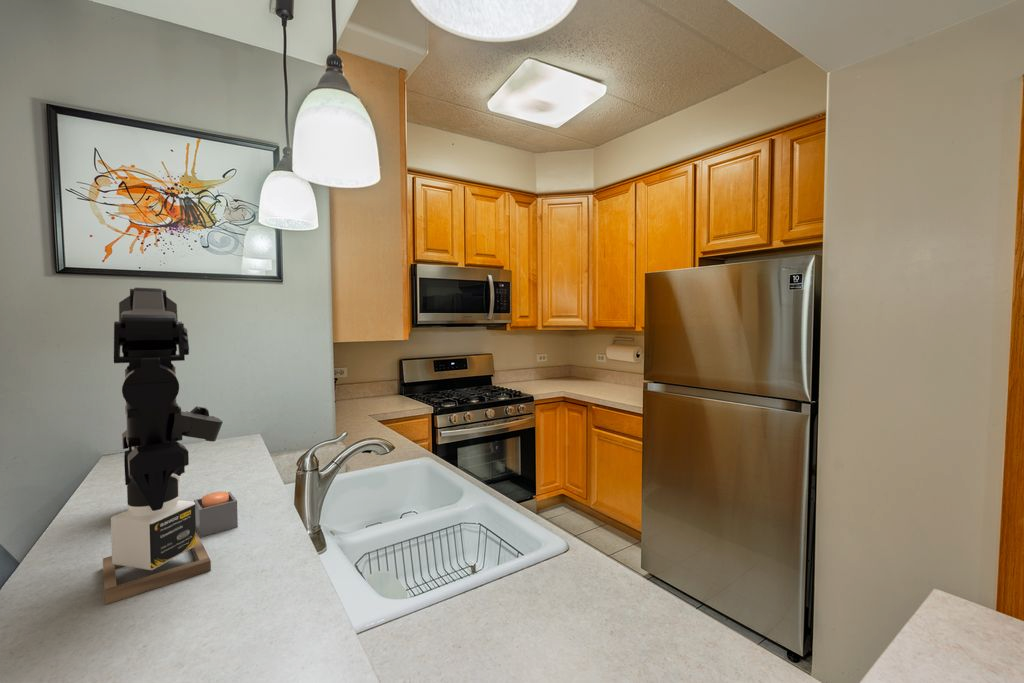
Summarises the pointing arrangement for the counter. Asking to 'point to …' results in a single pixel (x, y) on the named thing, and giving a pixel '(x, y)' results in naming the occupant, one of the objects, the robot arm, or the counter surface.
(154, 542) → the medicine bottle
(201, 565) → the frame
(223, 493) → the button
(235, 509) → the button housing
